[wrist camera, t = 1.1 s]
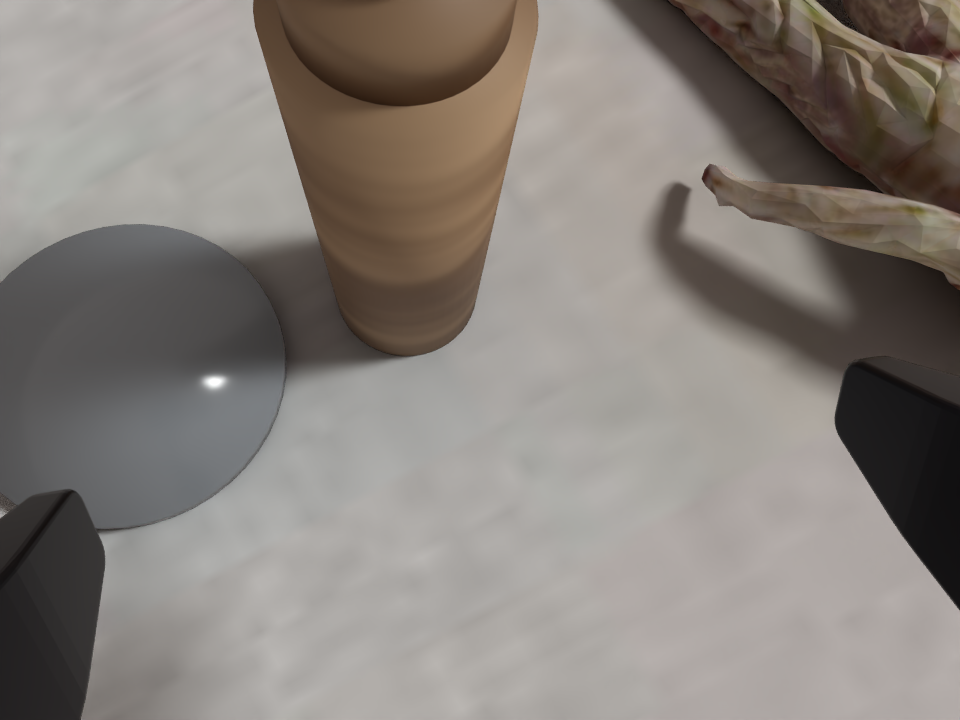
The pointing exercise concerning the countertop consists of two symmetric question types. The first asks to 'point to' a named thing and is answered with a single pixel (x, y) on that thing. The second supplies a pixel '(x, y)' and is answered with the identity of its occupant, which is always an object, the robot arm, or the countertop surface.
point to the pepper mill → (400, 147)
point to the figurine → (856, 117)
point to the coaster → (134, 372)
